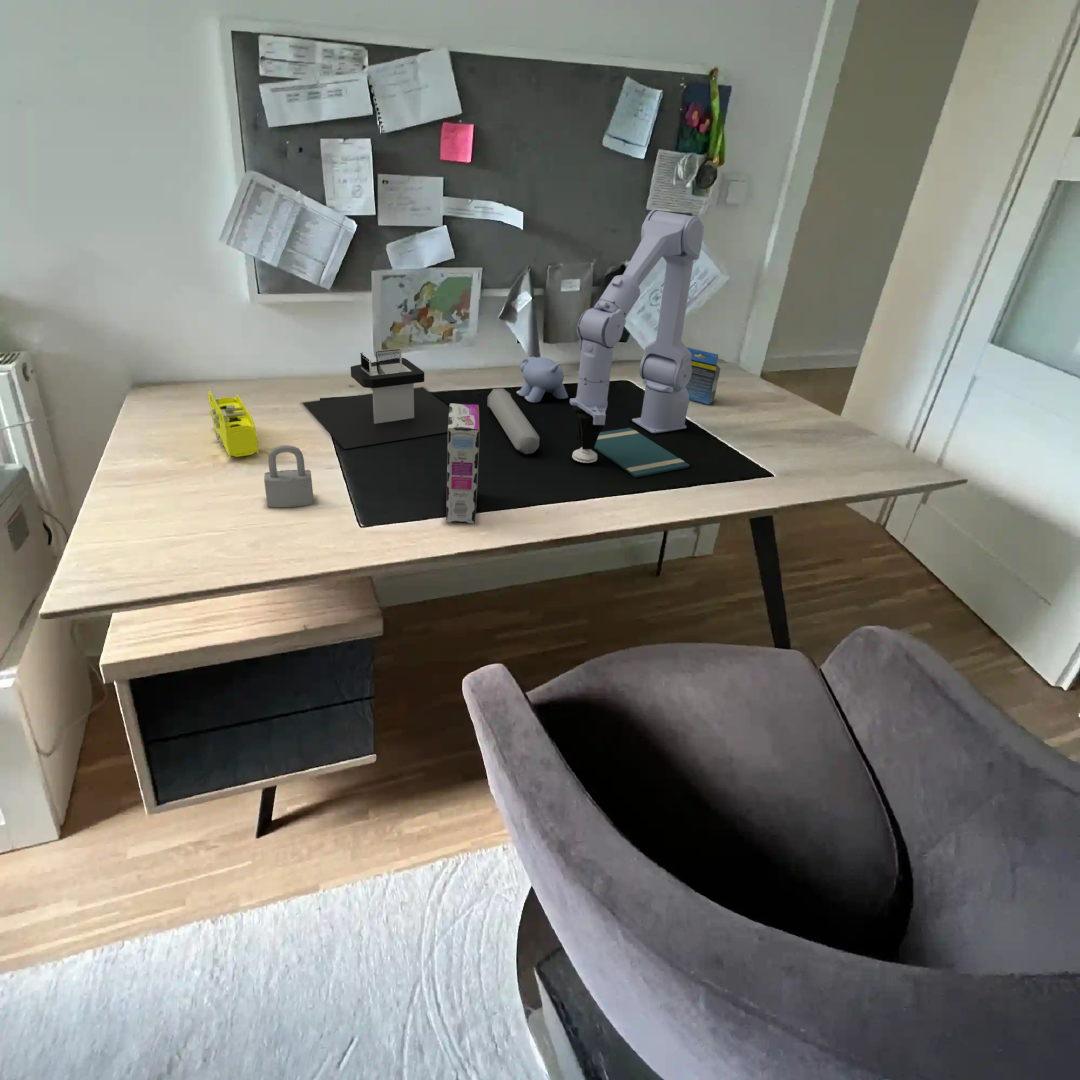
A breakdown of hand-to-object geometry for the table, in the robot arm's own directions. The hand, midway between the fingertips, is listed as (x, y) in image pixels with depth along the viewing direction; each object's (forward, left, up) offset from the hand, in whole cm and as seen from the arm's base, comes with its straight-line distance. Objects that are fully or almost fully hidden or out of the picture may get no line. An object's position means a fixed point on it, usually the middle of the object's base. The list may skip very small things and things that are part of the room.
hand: (586, 446), depth 139 cm
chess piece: (0, 0, -3) cm, 3 cm away
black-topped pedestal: (+28, -34, -3) cm, 44 cm away
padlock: (+55, -3, -3) cm, 55 cm away
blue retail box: (-45, -21, -3) cm, 50 cm away
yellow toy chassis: (+59, -30, -3) cm, 66 cm away
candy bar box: (+30, +9, -3) cm, 31 cm away
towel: (-11, 0, -3) cm, 12 cm away
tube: (+7, -17, -3) cm, 19 cm away
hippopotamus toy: (-10, -36, -3) cm, 37 cm away
